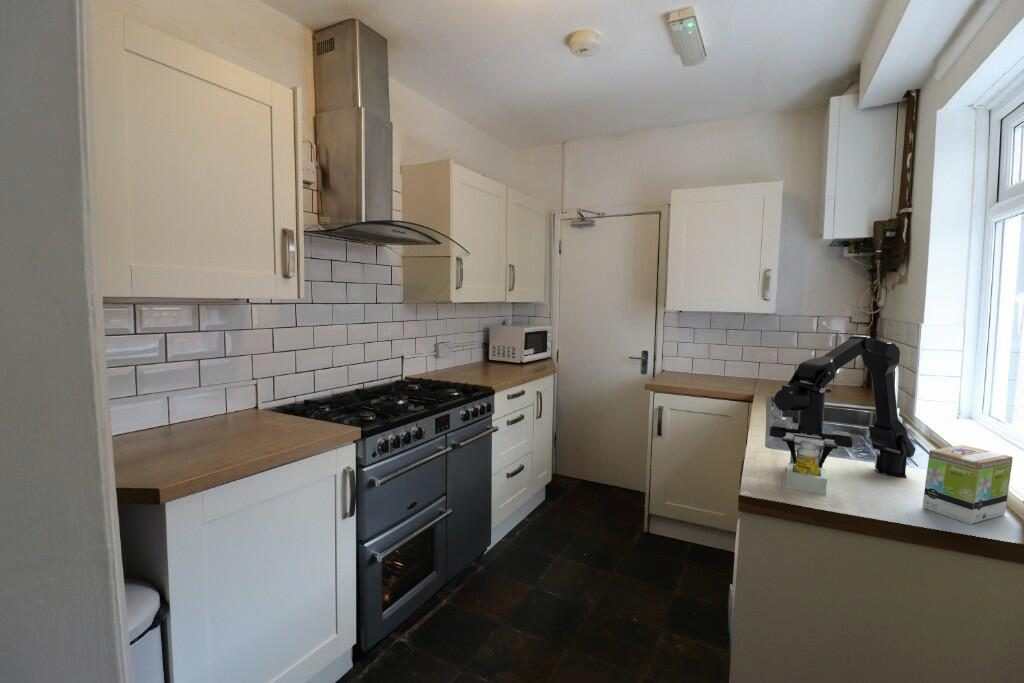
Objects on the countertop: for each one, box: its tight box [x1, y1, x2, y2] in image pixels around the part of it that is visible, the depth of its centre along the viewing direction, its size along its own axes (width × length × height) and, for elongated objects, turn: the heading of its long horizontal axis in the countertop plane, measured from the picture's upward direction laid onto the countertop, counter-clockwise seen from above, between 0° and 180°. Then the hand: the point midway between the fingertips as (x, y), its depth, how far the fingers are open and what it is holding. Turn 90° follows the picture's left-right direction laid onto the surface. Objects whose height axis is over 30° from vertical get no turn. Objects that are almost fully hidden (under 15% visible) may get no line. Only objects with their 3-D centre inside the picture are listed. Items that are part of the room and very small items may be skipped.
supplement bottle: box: [795, 440, 820, 476], centre depth 130 cm, size 5×5×10 cm
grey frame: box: [789, 436, 824, 468], centre depth 140 cm, size 9×6×8 cm, turn 59°
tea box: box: [922, 444, 1013, 525], centre depth 115 cm, size 15×10×15 cm, turn 114°
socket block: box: [785, 462, 828, 496], centre depth 134 cm, size 9×20×4 cm, turn 149°
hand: (807, 465), depth 130 cm, fingers closed on supplement bottle, 5 cm apart
